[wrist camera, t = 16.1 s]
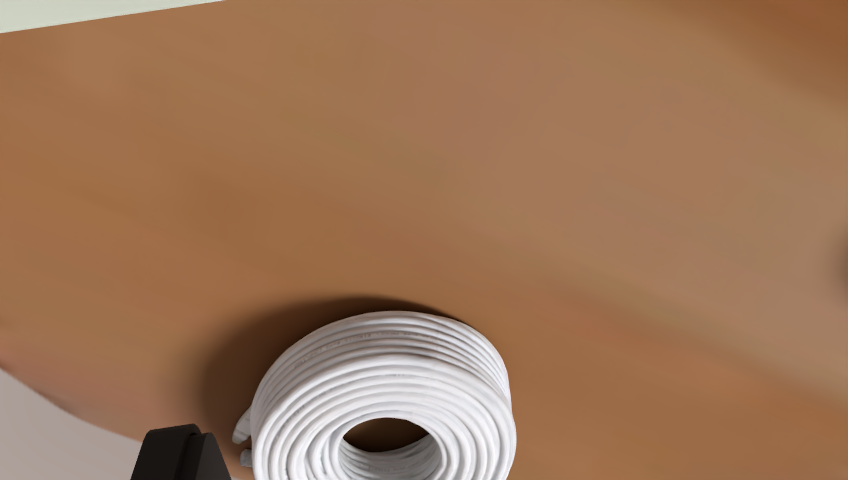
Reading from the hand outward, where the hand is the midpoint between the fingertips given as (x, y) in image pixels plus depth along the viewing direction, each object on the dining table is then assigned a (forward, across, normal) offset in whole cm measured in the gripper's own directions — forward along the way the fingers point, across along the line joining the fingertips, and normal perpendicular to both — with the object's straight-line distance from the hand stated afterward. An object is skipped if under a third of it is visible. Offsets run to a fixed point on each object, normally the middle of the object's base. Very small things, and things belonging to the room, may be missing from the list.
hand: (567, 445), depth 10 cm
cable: (+31, +6, +27) cm, 42 cm away
